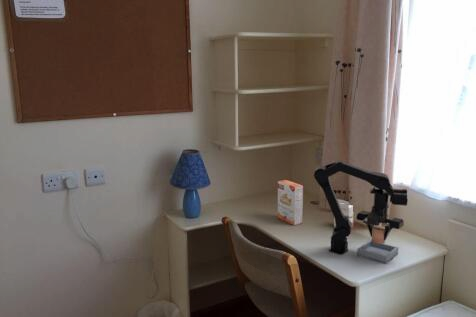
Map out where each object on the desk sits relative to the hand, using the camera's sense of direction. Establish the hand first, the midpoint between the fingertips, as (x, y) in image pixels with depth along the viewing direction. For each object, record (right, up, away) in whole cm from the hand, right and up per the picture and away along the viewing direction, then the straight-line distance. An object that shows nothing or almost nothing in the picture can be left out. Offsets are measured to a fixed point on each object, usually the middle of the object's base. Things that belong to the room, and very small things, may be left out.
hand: (378, 238), depth 187 cm
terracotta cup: (0, -1, 0) cm, 1 cm away
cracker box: (-33, +1, +43) cm, 55 cm away
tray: (0, -7, +1) cm, 8 cm away
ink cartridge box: (-7, -1, +34) cm, 35 cm away
